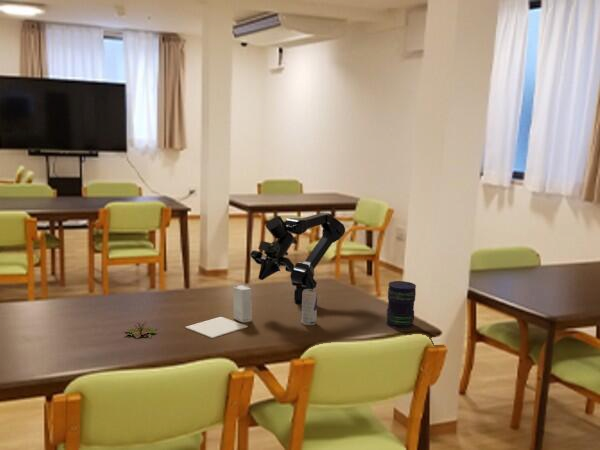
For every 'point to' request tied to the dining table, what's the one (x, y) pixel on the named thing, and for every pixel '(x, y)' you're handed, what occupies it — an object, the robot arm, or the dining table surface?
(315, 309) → the energy drink
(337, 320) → the dining table surface
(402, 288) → the storage jar
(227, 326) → the mat
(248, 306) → the skincare box
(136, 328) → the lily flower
